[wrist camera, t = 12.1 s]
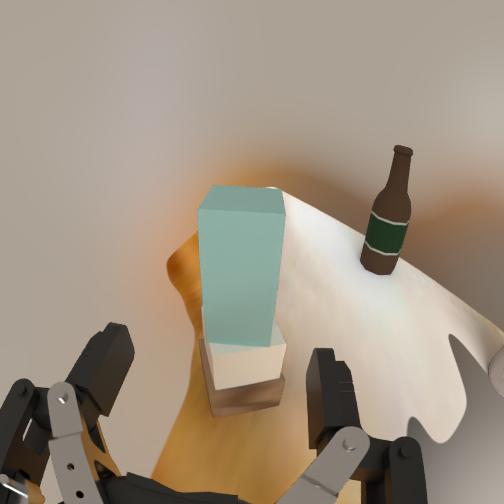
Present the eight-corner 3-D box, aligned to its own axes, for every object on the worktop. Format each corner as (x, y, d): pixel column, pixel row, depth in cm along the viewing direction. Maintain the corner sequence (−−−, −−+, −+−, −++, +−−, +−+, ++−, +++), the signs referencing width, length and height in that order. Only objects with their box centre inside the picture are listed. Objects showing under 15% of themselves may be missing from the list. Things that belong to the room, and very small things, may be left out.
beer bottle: (351, 260, 53) (374, 139, 41) (375, 253, 56) (398, 143, 44) (378, 280, 47) (410, 150, 35) (401, 270, 50) (431, 154, 38)
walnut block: (260, 358, 32) (263, 330, 29) (278, 405, 26) (285, 381, 23) (202, 367, 30) (198, 339, 28) (213, 418, 24) (209, 395, 22)
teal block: (269, 306, 25) (281, 189, 20) (269, 347, 21) (285, 214, 15) (215, 302, 25) (213, 185, 20) (206, 342, 21) (197, 209, 16)
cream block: (260, 334, 29) (263, 298, 26) (279, 377, 24) (286, 343, 21) (204, 342, 27) (201, 306, 25) (215, 390, 22) (212, 356, 20)
